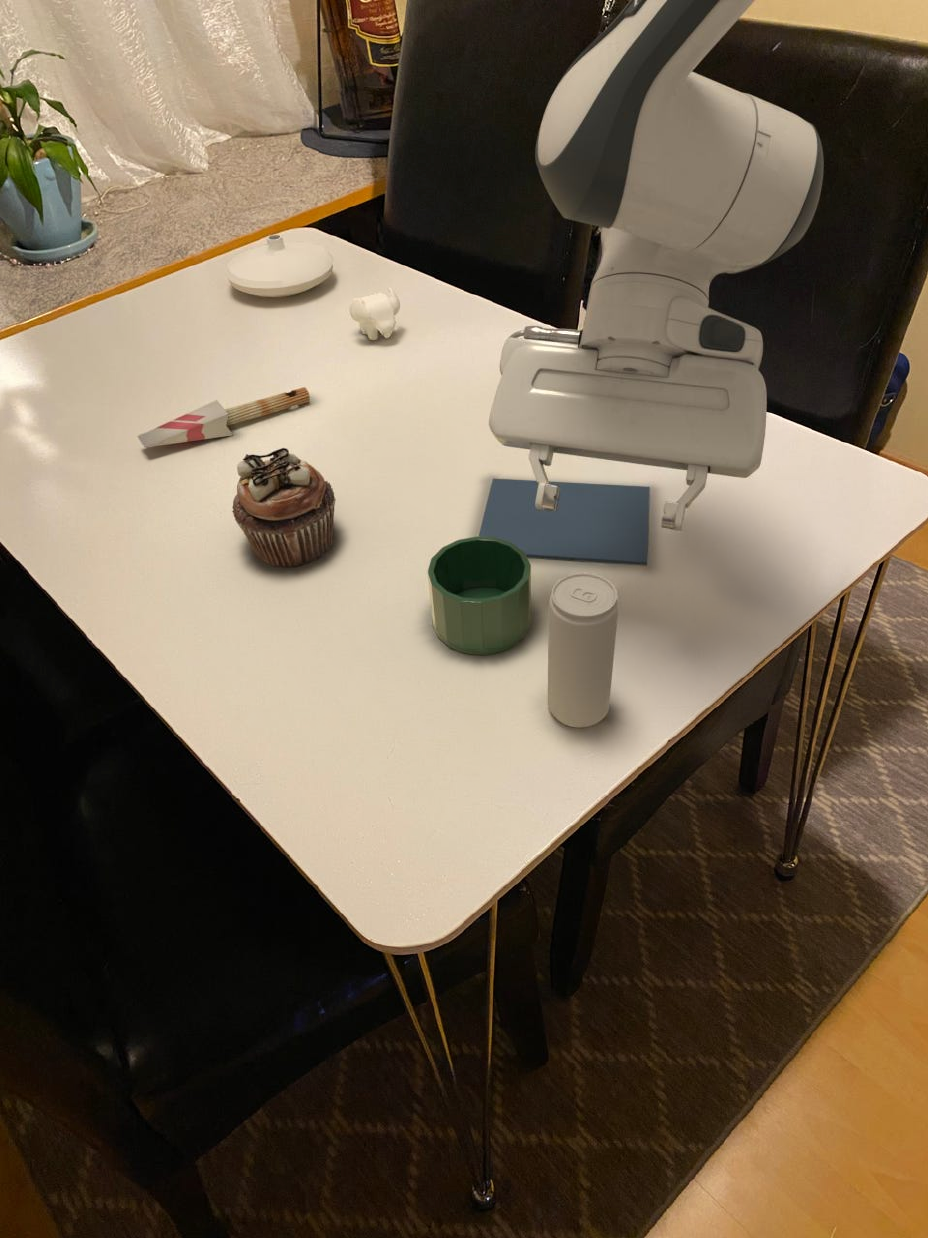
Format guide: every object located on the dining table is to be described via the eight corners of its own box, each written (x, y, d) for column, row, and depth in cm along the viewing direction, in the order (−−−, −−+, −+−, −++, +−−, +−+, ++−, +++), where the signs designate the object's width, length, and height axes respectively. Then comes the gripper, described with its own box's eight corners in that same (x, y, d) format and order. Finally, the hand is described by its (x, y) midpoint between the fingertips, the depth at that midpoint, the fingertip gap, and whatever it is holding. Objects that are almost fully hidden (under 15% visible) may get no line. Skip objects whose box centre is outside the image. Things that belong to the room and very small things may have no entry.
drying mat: (649, 489, 91) (649, 486, 91) (646, 565, 82) (647, 562, 82) (493, 481, 93) (492, 478, 93) (475, 554, 85) (475, 550, 85)
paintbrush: (132, 422, 100) (299, 377, 107) (138, 443, 101) (302, 398, 109) (142, 437, 97) (312, 390, 105) (148, 459, 99) (315, 411, 106)
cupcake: (360, 546, 87) (346, 458, 80) (270, 587, 83) (247, 499, 76) (313, 500, 92) (296, 415, 86) (227, 537, 89) (202, 451, 82)
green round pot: (535, 592, 80) (535, 539, 76) (524, 659, 74) (523, 606, 70) (443, 585, 82) (438, 533, 78) (425, 650, 76) (419, 598, 72)
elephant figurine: (368, 354, 116) (362, 309, 111) (342, 331, 121) (335, 287, 117) (414, 339, 118) (410, 295, 114) (387, 317, 123) (382, 274, 119)
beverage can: (592, 740, 68) (600, 626, 60) (536, 716, 70) (536, 602, 62) (619, 699, 71) (631, 584, 63) (564, 677, 73) (569, 563, 65)
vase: (288, 317, 125) (278, 266, 120) (207, 295, 131) (195, 247, 127) (358, 275, 134) (351, 227, 129) (279, 257, 141) (270, 210, 136)
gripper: (498, 307, 66) (464, 491, 67) (785, 334, 61) (748, 533, 61) (515, 337, 73) (483, 505, 73) (778, 364, 67) (744, 545, 67)
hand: (607, 518), depth 67 cm, fingers open, 8 cm apart
